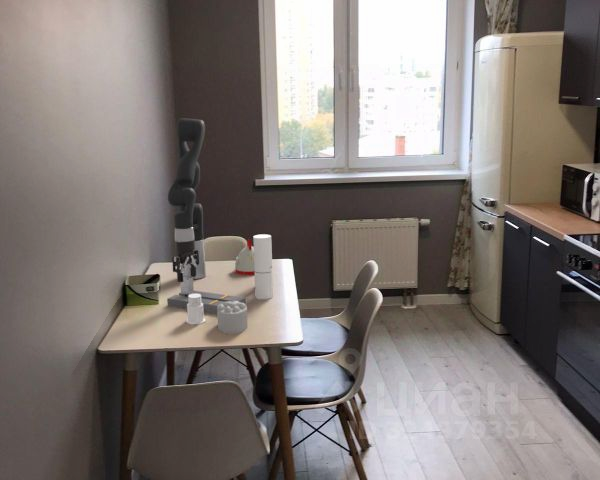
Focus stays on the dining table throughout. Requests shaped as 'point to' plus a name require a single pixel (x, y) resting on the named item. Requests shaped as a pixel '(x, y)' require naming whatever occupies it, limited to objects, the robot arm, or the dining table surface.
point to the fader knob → (187, 286)
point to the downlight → (195, 309)
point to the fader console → (204, 300)
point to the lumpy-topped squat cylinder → (232, 317)
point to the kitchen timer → (245, 261)
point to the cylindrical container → (263, 266)
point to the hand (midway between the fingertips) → (187, 279)
